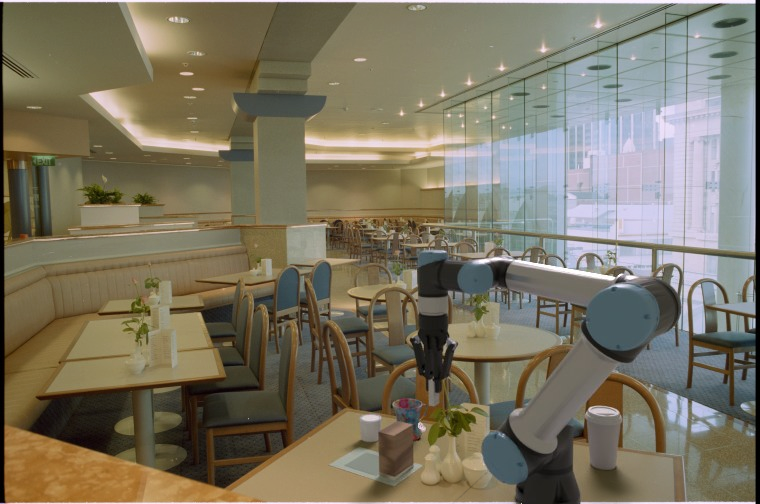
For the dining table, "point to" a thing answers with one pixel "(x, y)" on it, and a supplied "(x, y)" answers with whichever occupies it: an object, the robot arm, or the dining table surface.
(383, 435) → the walnut block
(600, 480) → the dining table surface
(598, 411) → the coffee cup
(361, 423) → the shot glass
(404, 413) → the mug
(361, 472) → the rubber mat
